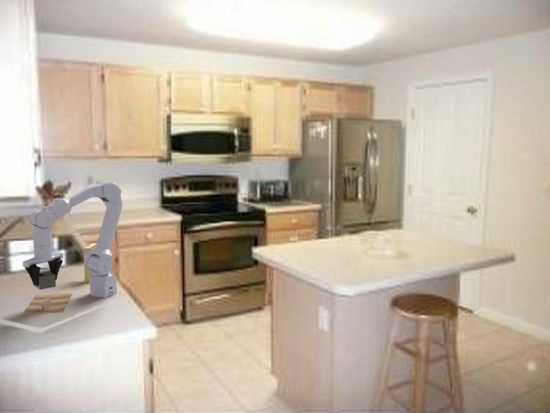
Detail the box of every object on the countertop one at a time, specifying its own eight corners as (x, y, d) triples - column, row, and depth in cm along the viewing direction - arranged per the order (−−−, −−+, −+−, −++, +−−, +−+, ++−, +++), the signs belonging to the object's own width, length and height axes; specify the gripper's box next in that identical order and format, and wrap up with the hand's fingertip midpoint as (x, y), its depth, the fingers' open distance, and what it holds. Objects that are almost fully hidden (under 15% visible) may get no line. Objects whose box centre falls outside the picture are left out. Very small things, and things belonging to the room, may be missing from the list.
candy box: (93, 277, 204) (91, 243, 202) (102, 277, 204) (101, 243, 202) (84, 283, 195) (82, 247, 193) (94, 283, 195) (92, 247, 193)
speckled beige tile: (50, 306, 165) (49, 298, 164) (43, 309, 162) (43, 300, 162) (48, 306, 165) (47, 298, 165) (41, 308, 162) (40, 300, 162)
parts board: (35, 298, 176) (35, 295, 176) (72, 295, 180) (72, 292, 180) (21, 318, 156) (20, 315, 156) (63, 315, 160) (63, 312, 159)
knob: (50, 283, 168) (49, 268, 167) (55, 286, 164) (55, 271, 164) (34, 286, 165) (34, 271, 164) (40, 289, 161) (39, 274, 160)
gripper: (52, 239, 171) (55, 275, 172) (15, 247, 158) (18, 286, 160) (66, 241, 168) (68, 278, 169) (29, 249, 155) (32, 289, 157)
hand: (45, 282), depth 164 cm, fingers closed on knob, 6 cm apart
